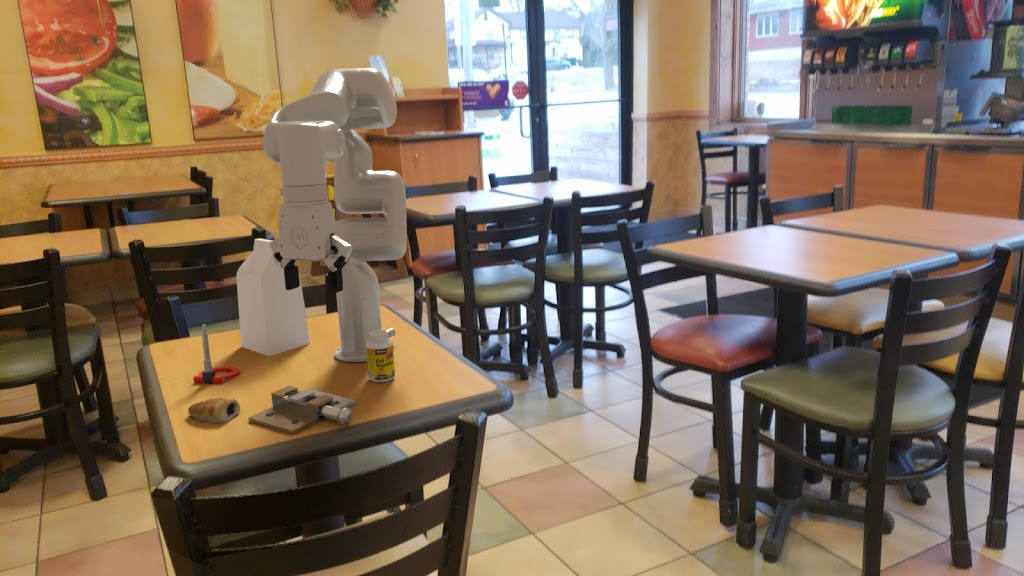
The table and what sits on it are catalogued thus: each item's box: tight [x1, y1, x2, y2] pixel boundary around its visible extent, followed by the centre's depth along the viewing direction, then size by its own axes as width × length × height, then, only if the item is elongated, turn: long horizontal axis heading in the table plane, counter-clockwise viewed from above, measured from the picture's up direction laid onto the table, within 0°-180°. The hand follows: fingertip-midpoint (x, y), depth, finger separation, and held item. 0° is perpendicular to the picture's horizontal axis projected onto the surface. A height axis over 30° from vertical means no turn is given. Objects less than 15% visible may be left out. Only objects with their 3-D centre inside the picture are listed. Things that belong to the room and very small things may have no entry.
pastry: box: [187, 397, 241, 424], centre depth 150 cm, size 9×7×4 cm
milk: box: [236, 237, 311, 357], centre depth 189 cm, size 12×12×26 cm
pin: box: [301, 400, 353, 426], centre depth 147 cm, size 3×13×3 cm, turn 57°
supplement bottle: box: [366, 329, 396, 383], centre depth 166 cm, size 6×6×10 cm
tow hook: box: [193, 323, 241, 385], centre depth 170 cm, size 8×13×9 cm
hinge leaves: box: [248, 385, 357, 436], centre depth 150 cm, size 16×12×4 cm
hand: (314, 290), depth 142 cm, fingers open, 9 cm apart
